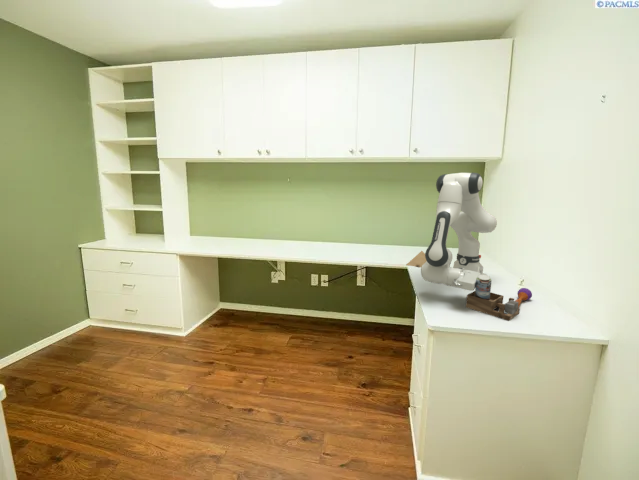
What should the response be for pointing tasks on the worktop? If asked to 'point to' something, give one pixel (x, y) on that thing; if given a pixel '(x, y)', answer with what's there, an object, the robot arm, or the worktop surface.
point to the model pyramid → (418, 260)
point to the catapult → (493, 305)
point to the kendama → (523, 295)
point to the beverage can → (483, 287)
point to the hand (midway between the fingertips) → (489, 283)
